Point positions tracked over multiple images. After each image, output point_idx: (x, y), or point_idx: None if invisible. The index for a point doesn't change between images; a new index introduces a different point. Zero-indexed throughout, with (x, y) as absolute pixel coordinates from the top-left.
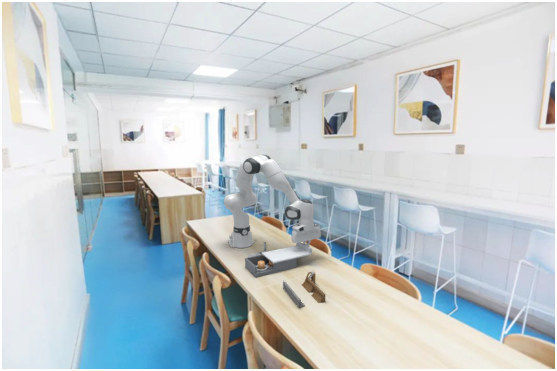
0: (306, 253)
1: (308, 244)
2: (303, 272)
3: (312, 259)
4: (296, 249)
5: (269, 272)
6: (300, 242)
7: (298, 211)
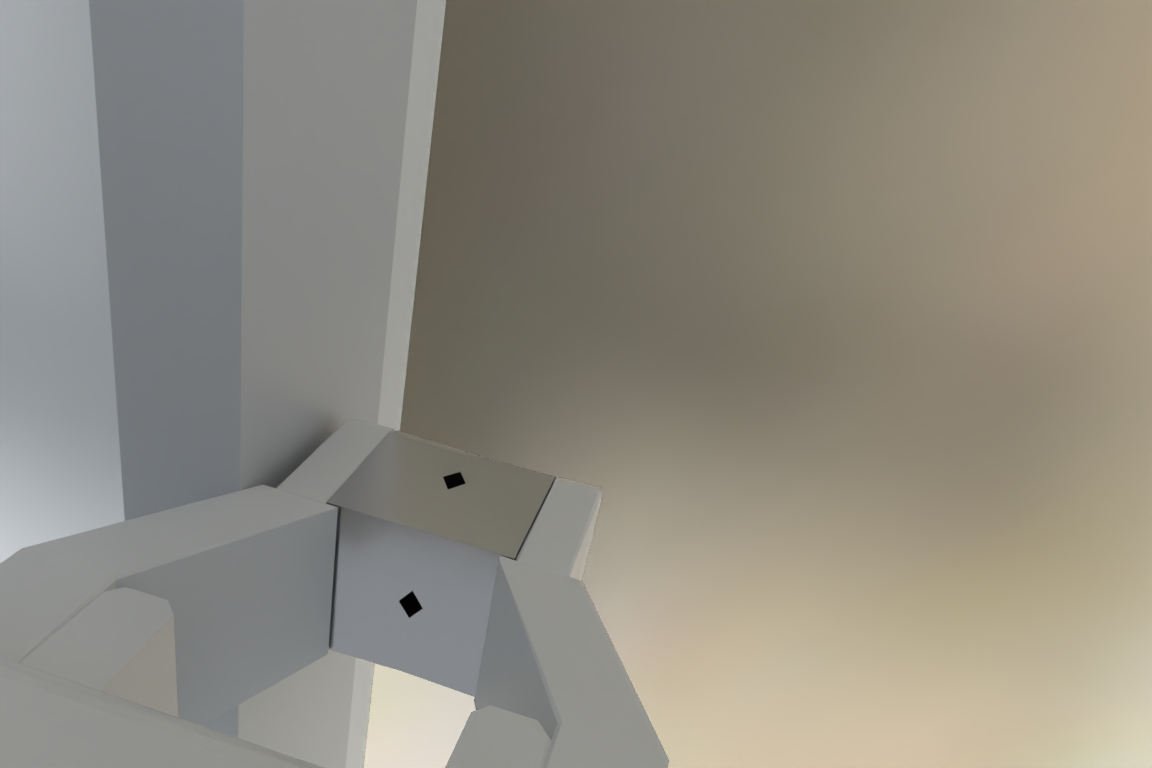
0: None
1: (480, 693)
2: None
3: (761, 385)
4: (22, 200)
5: None
6: (205, 111)
7: None
